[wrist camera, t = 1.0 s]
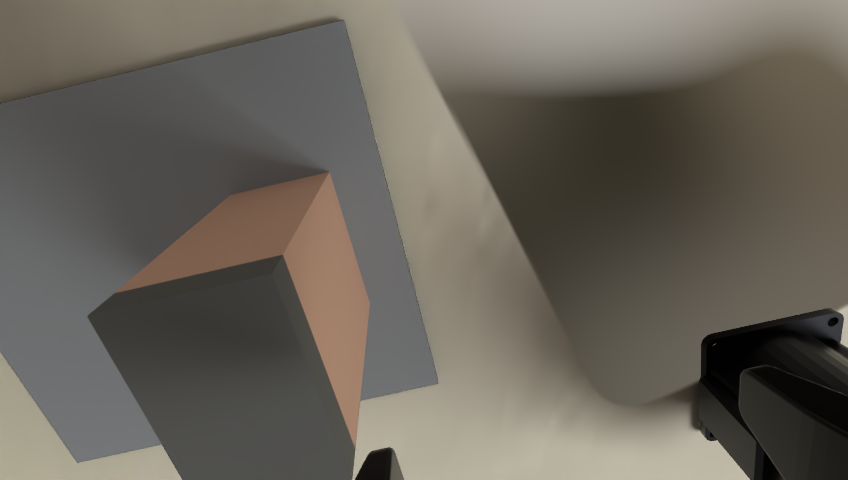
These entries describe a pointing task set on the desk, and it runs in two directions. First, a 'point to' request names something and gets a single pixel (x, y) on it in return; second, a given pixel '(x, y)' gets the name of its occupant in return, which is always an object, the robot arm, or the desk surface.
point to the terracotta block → (249, 338)
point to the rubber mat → (180, 210)
